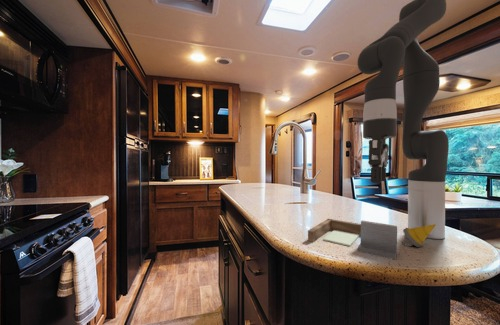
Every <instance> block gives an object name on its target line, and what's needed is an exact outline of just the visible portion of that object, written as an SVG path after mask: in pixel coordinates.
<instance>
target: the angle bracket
mask: <svg viewBox="0 0 500 325" xmlns="http://www.w3.org/2000/svg"><path fill="white" fill-rule="evenodd" d="M360 224H361V235H360V244H359V245H358V246H357V251H358V252H362V253H365V254H370V255H374V256H377V257H378V256H379V257H383V258H387V259H390V258H392V259H391V260H396V259H395V258H397V255H396V254H397V253H398V226H397V225H392V224H386V223H382V222H376V221H375V222H373V221H367V220H363V219H362V220H360Z"/></svg>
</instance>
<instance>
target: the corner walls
mask: <svg viewBox="0 0 500 325" xmlns="http://www.w3.org/2000/svg"><path fill="white" fill-rule="evenodd" d="M331 230H333V231H334V230H338V231H343V232H348V233H353V234H359V236H361V223H358V222H350V221H346V220H345V221H344V220H338V219H333V218H327V219H325V220H324V221H322V222H320V223H319V224H317V225H315V226H313V227H312V228H310V229H308V230H307V241H308V242H311V243H315V242H316V241H317V240H319V238H321V237H323V236H324V235H326V234H327V233H328V232H329V231H331Z"/></svg>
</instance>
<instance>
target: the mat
mask: <svg viewBox="0 0 500 325" xmlns="http://www.w3.org/2000/svg"><path fill="white" fill-rule="evenodd" d="M359 237H360V235H359V234H354V233H349V232H344V231H339V230H334V229H333V230H332V231H331V232H330V233H328V234H327V235H326V236H325V237H323V238H322V241H326V242H329V243H333V244H338V245H342V246H343V245H344V246H347V247H352V245H353V244H354V243H355V242H356V240H357V239H358V238H359Z"/></svg>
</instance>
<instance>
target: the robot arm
mask: <svg viewBox="0 0 500 325" xmlns="http://www.w3.org/2000/svg"><path fill="white" fill-rule="evenodd" d="M446 11H447V1H446V0H412V1H411V2H409V3H407V4H405V5H404V6H402V8H401V9H400V11H399V16H398V18H399V19H398V22H396V23H395V24H394V25H392V26H391V27H390V28H389V29H388V30H387V31H386V32H385V33H384V34H383V35H382V36H381V37H379V38H378V39H376V40H375V41H373V42H371V43H370V44H369V45H367V46H366V47H364V48H363V49H362V50H361V52H360V53H359V55H358V58H357V68H358V70H359V72H360V73H362V74H364V75H373V74H376V73H378V74H377V75H376V76H374V77H373V78H372V79H370V80H369V81H367V82H366V84H365V85H364V105H363V115H362V117H363V118H362V137H363V139H365V140H368V162H367V163H368V165H369V168H370V183H372V184H380V183H382V182H386V180H387V167H388V164H389V162H388V161H389V151H390V145H389V144H388V143H387V142H386V140H387V139H393V138H396V136H397V131H398V130H397V129H398V125H397V124H398V122H397V120H398V119H397V117H398V114H397V112H398V111H397V109H398V108H397V107H398V106H397V100H396V99H397V82H398V79H399V76H400V75H399V74H400V71H401V70H402V89H403V105H404V106H403V111H404V112H403V128H402V139H401V140H402V141H401V142H402V146H401V147H402V152H403V155H404V156H405V158H406V159H409V160H426V161H425V164H424V165H423V166H421V167H420V168H416V169H412V170H410V171H409V172H408V175H407V176H408V177H407V179H408V180H407V181H408V182H407V191H408V192H407V228H409V229H410V228H416V227H422V226H428V225H434V224H436V226H435V227H434V228H433V230H432V231H431V232H430V234H429V235H427V238H426V239H433V240H434V239H435V240H440V239H442V240H443V239H445V238H446V176H447V171H448V157H449V149H450V148H449V145H450V143H449V142H450V141H449V137H448V134H447V133H446V131H444V130H443V129H430V130H422V121H423V118H424V115H425V113H426V111H427V109H428V108H429V106H430V105H431V104H432V102H433V100H434V99H435V97H436V96H437V93H438V91H439V89H440V66H439V64H438V62H437V60H436V59H434V57H433V56H431V55H430V54H429V53H428V52H426V51H425V50H424V49H423V47H422V46H421V45H420V43H419V41H418V36H419V35H421V34H422V33H423V32H425V31H426V30H427V29H428V28H430V27H431V26H432V25H434V24H435V23H438V22H439V21H440V20H441V19H442V18H443V17H445V15H446Z"/></svg>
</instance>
